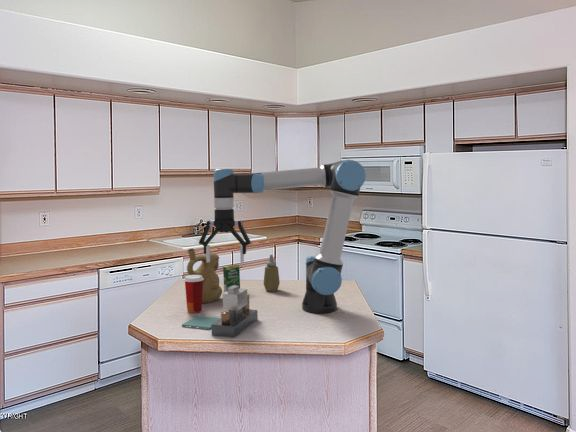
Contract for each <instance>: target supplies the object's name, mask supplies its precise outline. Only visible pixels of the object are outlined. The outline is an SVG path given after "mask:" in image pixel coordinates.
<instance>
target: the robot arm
mask: <svg viewBox="0 0 576 432" xmlns="http://www.w3.org/2000/svg"><path fill="white" fill-rule="evenodd" d="M366 177H367V176H366V170H365V168H364V167H363V165H362V163H359V162H358V161H356V160H353V159H345V160H339V161H336V162H333V163H327V164H326V163H325V164H321V165H320V166H319V167H311V168H310V167H308V168H298V169H297V168H295V169H285V170H274V171H263V172H262V171H261V172H251V173H250V172H249V173H235V172H234V170H233V168H232V169H231V168H216V169H214V172H213V196H214V197H213V200H214V203H213V204H214V208H215V209H214V220H213V221H212V220H207V221H206V225H205V229H204V230H203V233H202V235H201V237H200V239H199V241H198V244H199V245H202V246H203V254H205V255H206V262H207V263H208V262H210V253H211V245H210V244H209V243H210V242H211V241H212V240H213V238H214V237H215V236H216V235H217V233H231V234H232V235H233V236H234V238H235V239H236V240H237V241H238V242H239V244H241V245H240V246H239V247H240V248H239V249H240V255H239V256H240V259H239V260H240V264H243V263H244V261H245V258H244V257H245V255H246V254H247V246H248V245H250V244H251V242H252V241H251V239H250V238H249V235H248V234H247V231H246V230H245V227H244V226H243V225H244V224H243V221H242V220H238V221H235V210H234V206H235V204H234V202H235V201H234V194H259V193H260V194H261V193H264V192H265V191H269V190H280V189H281V190H283V189H291V188H292V189H294V188H305V187H306V188H307V187H318V186H321V187H323V188H329V192H330V193H331V195H332V197H331V200H330V205H329V209H328V214H327V218H326V224H325V228H324V233H323V236H322V241H321V245H320V250H319V253H318V254H317V255H310V256H307V257H306V258H305V293H304V295H303V296H304V297H303V300H302V302H301V303H302V304H301V308H302V310H303V311H305V312H308V313H313V314H328V313H333V312H335V311H337V310H338V303H337V300H336V296H335V293H336V292H337V291H339V290H340V288H341V286H342V283H343V281H342V280H343V278H342V275H341V274H342V270H343V265H344V263H343V261H342V258H341V257H342V253H343V247H344V243H345V239H346V236H347V232H348V227H349V222H350V218H351V213H352V208H353V205H354V201H355V199H357V198H359V195H360V191H361V187H362V186H363V185H364V183H365V181H366V179H367V178H366ZM213 225H214V227H215V229H213V232H212V233H211V234H210V235H209V236H208V234H209V232H210V230H211V227H213ZM235 226H236V227H237V228H238V230H239V231H240V233H241V235H240V234H239V233H238V232H237V230H236V229H235V228H234V227H235ZM207 236H208V237H207ZM206 238H207V239H206Z"/></svg>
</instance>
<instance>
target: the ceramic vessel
mask: <svg viewBox="0 0 576 432" xmlns="http://www.w3.org/2000/svg"><path fill="white" fill-rule="evenodd" d="M187 253H188V257H189V260H188V263H187V266H186V270H187V274H188V275H202V277H203V279H204V280H203V292H202V304H207V303H213V302H215V301H217V300H218V299H220V298H221V296H222V295H223V289H222V287H221V286H220V277H219V275H218V274H217V272H216V271H217V270H218V268H219V263H220V261H219V260H220V256H219V254H217V253H215V252H210V262H208V263H207V262H206V254H205V255H198V256H196V251H195V249H194V248H190V249H188V250H187ZM197 262H201V264H200V265H199V266H198V267H197V268H196V269H195V270H194V268H193V267H194V265H195V264H196V263H197Z"/></svg>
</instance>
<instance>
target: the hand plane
mask: <svg viewBox="0 0 576 432" xmlns="http://www.w3.org/2000/svg"><path fill="white" fill-rule="evenodd" d="M220 316H221V317H220V318H221V319H219V320H218V321H216V322H214V323H213V324H211V325H212V329H211V336H218V337H225V338H235V337H237V336H239V335H240V334H241V333H242V332H244V331H245V330H246V329H247V328H249V327H251V326H252V325H253V324H254V323H256V321H258V320H259V319H258V309H250V294H247V305H245V306H244V307H242V308H241V309H239V310H238V311H237V310H227V311H222V312H221V313H220Z"/></svg>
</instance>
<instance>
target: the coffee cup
mask: <svg viewBox="0 0 576 432" xmlns="http://www.w3.org/2000/svg"><path fill="white" fill-rule="evenodd" d="M203 280H204V279H203V277H202V275H189V274H188V275H186V276H185V277H184V279H183V281H184V286H185V288H184V289H185V298H186V299H185V300H186V306H187V307H186V311H187V312H188V313H189V312H192V313H191V314H195V313H194V312H198V313H201V312H202V311H201V310H202V308H203V303H202V292H203ZM200 311H201V312H200Z"/></svg>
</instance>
